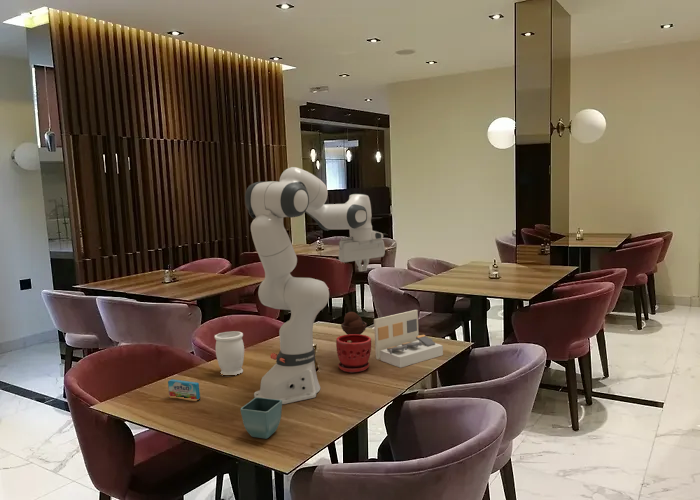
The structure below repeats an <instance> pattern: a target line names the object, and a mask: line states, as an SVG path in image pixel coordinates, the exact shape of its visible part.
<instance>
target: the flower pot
mask: <svg viewBox="0 0 700 500" xmlns="http://www.w3.org/2000/svg"><path fill="white" fill-rule="evenodd" d="M282 408H283V404H282V400H276V399H267V398H259V397H256V398H252V399H251V400H250V401H249V402H247V403H246V404H244V405H243V406H242V407H240V414H241V419H242V424H243V425H244V428H245V431H246V432H247V433H248V435H250V436H251V437H252V438H257V439H258V438H259V439H264V440H265V439H266V440H267V439H268V438H270V437H271V436H272V435H273V434H274V433H275V432H276V431H277V429H278V428H279V425H280V423H281V420H282Z"/></svg>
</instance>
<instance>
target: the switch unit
mask: <svg viewBox="0 0 700 500" xmlns="http://www.w3.org/2000/svg"><path fill="white" fill-rule="evenodd" d="M418 311H419V310H418V309H413V310H409V311H405V312H400V313H396V314H391V315H387V316H383V317H378V318H374V319H373V326H374V327H373V328H374V329H373V330H374V345H375V347H374V348H375V351H374V352H375V360H380V361H381V362H383V363H386V364H388V365H389V364H390V365H391V366H395V367H397V368H399V369H402V368H406V367H407V366H411V365H415V364H418V363H421V362H425V361H427V360H431V359H435V358H439V357H441V356H443V355H444V347H443V346H444V345H443V344H439V343H436V342H435V345H432V346H428V347H427V346H426V345H424V344H423V343H422V342H421V341H419V340H418V339H416V336H420V335H419V316H418ZM429 339H430V340H432V341H433V338H429ZM407 342H418V343H421V345H418V346H415V347H408V346H407V345H404V346H406V349H402V350H399V351H392V349H390V351H387V348H390V347H394V346H402V344H403V343H407Z"/></svg>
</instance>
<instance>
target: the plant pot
mask: <svg viewBox="0 0 700 500" xmlns="http://www.w3.org/2000/svg"><path fill="white" fill-rule="evenodd" d="M335 339H336V341H335V343H336V344H335V345H336V354H337V358H338V360H339V363H338V364H337V365H338V368H339V369H340V370H341V371H343V372H346V373H360V372H364V371H366V370H367V369H368V368H369V366H370V363H369V360H370V357H371V354H372V353H371V352H372V338H371V337H370V336H368V335H366V334H349V335H347V334H343V335H340V336H337V337H336V338H335ZM349 341H350V342H349ZM351 342H352V343H351ZM355 342H357V343H355Z"/></svg>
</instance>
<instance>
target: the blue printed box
mask: <svg viewBox="0 0 700 500" xmlns="http://www.w3.org/2000/svg"><path fill="white" fill-rule="evenodd" d="M167 385H168V386H167V387H168V396H169V395H170V396H176V397H184V398H191V399H199V398H200V399H201V392H200V383H199V382H196V381H188V380H181V379H180V380H179V379H173V378H172V379H169V380H168V381H167Z"/></svg>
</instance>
